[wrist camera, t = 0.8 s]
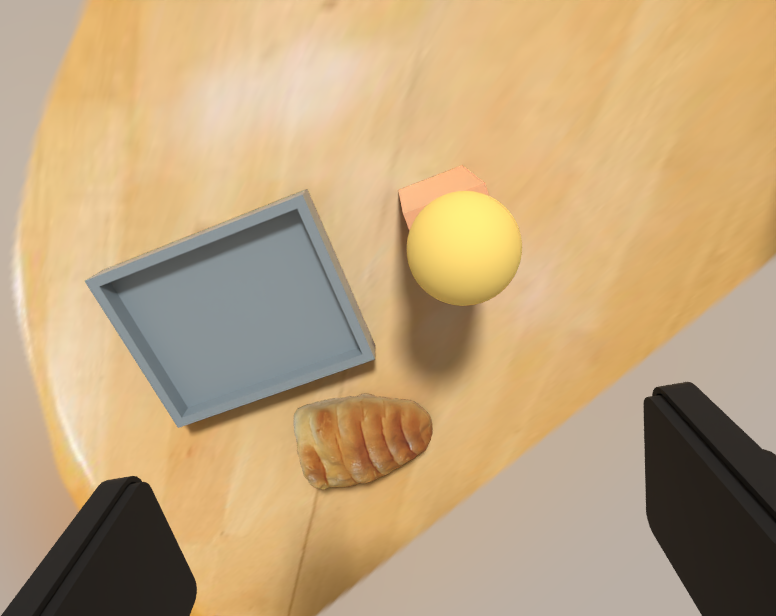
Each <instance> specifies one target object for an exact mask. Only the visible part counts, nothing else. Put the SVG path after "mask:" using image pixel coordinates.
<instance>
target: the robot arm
mask: <svg viewBox="0 0 776 616" xmlns="http://www.w3.org/2000/svg"><path fill="white" fill-rule="evenodd" d="M644 439H645V440H644V441H645V478H646V479H645V480H646V514H647V519H648V522H649V525H650V528H651V530H652V532H653V534H654V536H655V538H656V539H657V541H658V543H659V544H660V546H661V548H662V549H663V551H664V553H665V554H666V556H667V558H668V559H669V561H670V563H671V564H672V566H673V568H674V569H675V571H676V573H677V575H678V576H679V578H680V580H681V581H682V583H683V584H684V586H685V588H686V589H687V591H688V593H689V595H690V596H691V598H692V599H693V601H694V603H695V604H696V606H697V608H698V610H699V611H700V613H701V614H702V616H776V455H775V454H773V453H772V452H770V451H767V450H764V449H761V448H760V447H759V445H757V444H756V443H755V442H754V441H753V440H752V439H751V438H750V437H749V436H748V435H747V434H746V433H745V432H744V431H743V430H742V429H741V428H739V426H737V425H736V424H735V423H734V422H733V421H732V420H731V419H730V418H729V417H728V416H727V415H726V414H725V413H724V412H723V411H722V410H721V409H720V408H719V407H717V406H716V405H715V404H714V403H713V402H712V401H711V400H710V399H709V398H708V397H707V396H706V395H705V394H704V393H703V392H702V391H701V390H700V389H699V388H698V387H696V386H695V385H694V384H693V383H691V382H684V383H678V384H672V385H666V386H660V387H656V388H655V389H654V390H653V394H652V396H651V397H646V398H645V400H644ZM196 594H197V586H196V581H195V578H194V576H193V574H192V572H191V570H190V568H189V566H188V564H187V562H186V560H185V558H184V555H183V553H182V551H181V549H180V547H179V545H178V543H177V541H176V539H175V537H174V535H173V532H172V530H171V528H170V526H169V524H168V522H167V520H166V518H165V516H164V514H163V512H162V509H161V507H160V505H159V503H158V501H157V499H156V497H155V495H154V493H153V491H152V489H151V487H150V485H149V484H148V483H146V482H142V481H141V479H139V478H138V477H136V476H130V477H124V478H118V479H112V480H107V481H104V482H102V483H101V484H100V485H99V486H98V487H97V489H96V490H95V491H94V493H93V494H92V495H91V497H90V498H89V499H88V501H87V502H86V503H85V505H84V506H83V507H82V509H81V510H80V511H79V513H78V514H77V515H76V517H75V518H74V519H73V521H72V522H71V523H70V525H69V526H68V527H67V529H66V530H65V531H64V533H63V534H62V535H61V537H60V538H59V539H58V541H57V542H56V543H55V545H54V546H53V547H52V548H51V550H50V551H49V552H48V554H47V555H46V556H45V558H44V559H43V561H42V562H41V563H40V565H39V566H38V567H37V569H36V570H35V571H34V572H33V574H32V575H31V576H30V578H29V579H28V580H27V582H26V583H25V584H24V586H23V587H22V588H21V590H20V591H19V593H18V594H17V595H16V596H15V598H14V599H13V600H12V602H11V603H10V604H9V606H8V607H7V609H6V610H5V611H4V612H3V614H2V615H1V616H190V613H191V610H192V608H193V605H194V603H195V599H196Z"/></svg>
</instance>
